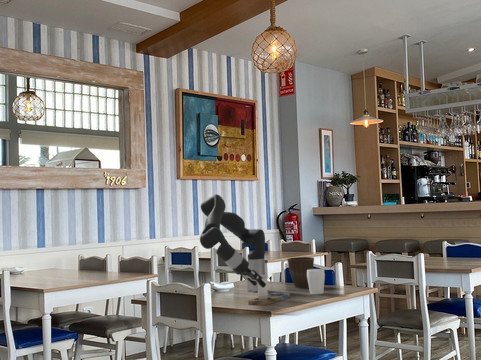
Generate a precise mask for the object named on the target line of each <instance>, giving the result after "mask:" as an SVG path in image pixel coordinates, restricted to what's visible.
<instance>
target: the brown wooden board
mask: <svg viewBox="0 0 481 360" xmlns="http://www.w3.org/2000/svg"><path fill="white" fill-rule="evenodd" d="M290 298H291V293H289V292H288V293H287V292H272V293H269V294H268V300H258V297H255V298H252V299H249V300H247V301H248V302H247V303H248V305H249V306H250V305H251V306H268V305H271V304H275V303H277V302H279V301H283V300H286V299H290Z"/></svg>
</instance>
